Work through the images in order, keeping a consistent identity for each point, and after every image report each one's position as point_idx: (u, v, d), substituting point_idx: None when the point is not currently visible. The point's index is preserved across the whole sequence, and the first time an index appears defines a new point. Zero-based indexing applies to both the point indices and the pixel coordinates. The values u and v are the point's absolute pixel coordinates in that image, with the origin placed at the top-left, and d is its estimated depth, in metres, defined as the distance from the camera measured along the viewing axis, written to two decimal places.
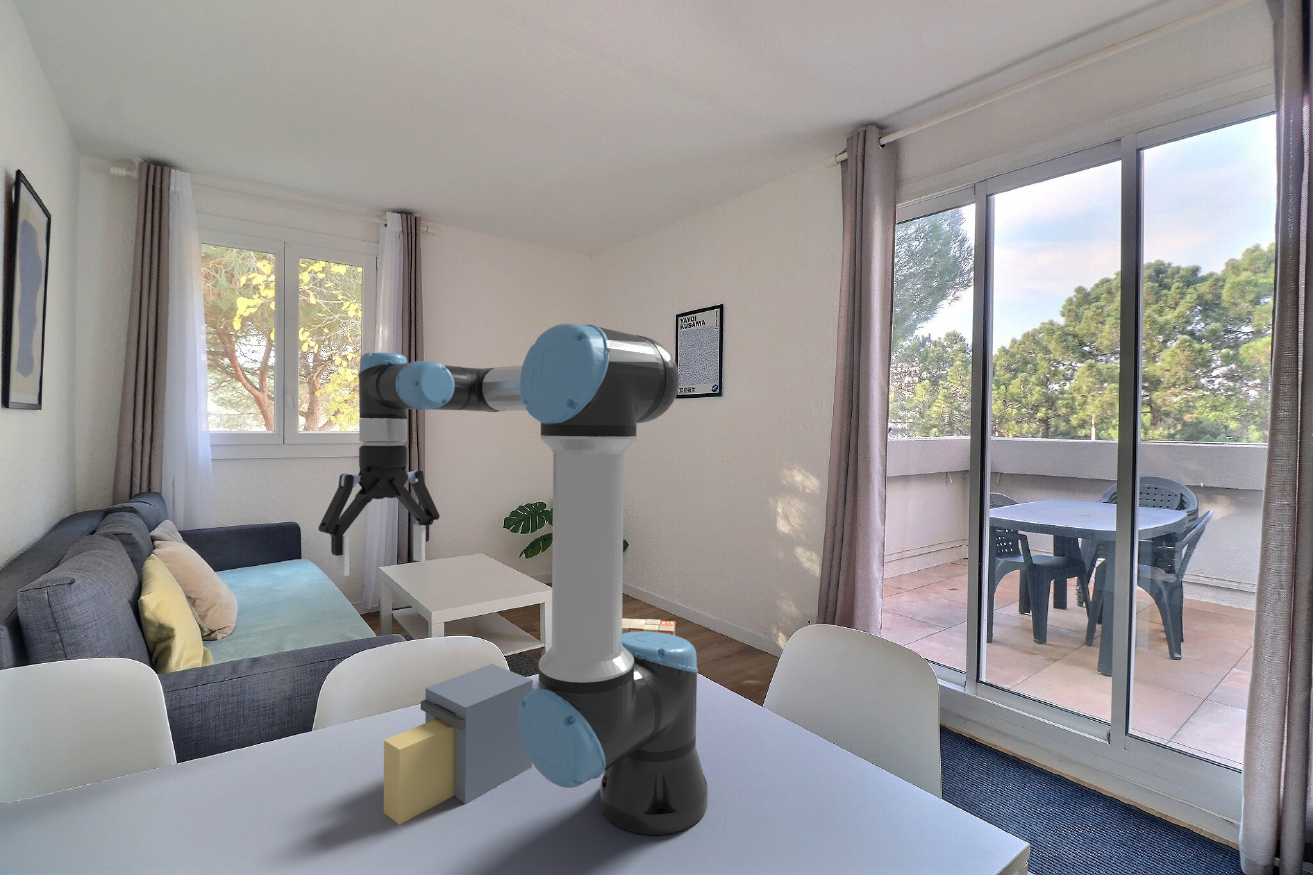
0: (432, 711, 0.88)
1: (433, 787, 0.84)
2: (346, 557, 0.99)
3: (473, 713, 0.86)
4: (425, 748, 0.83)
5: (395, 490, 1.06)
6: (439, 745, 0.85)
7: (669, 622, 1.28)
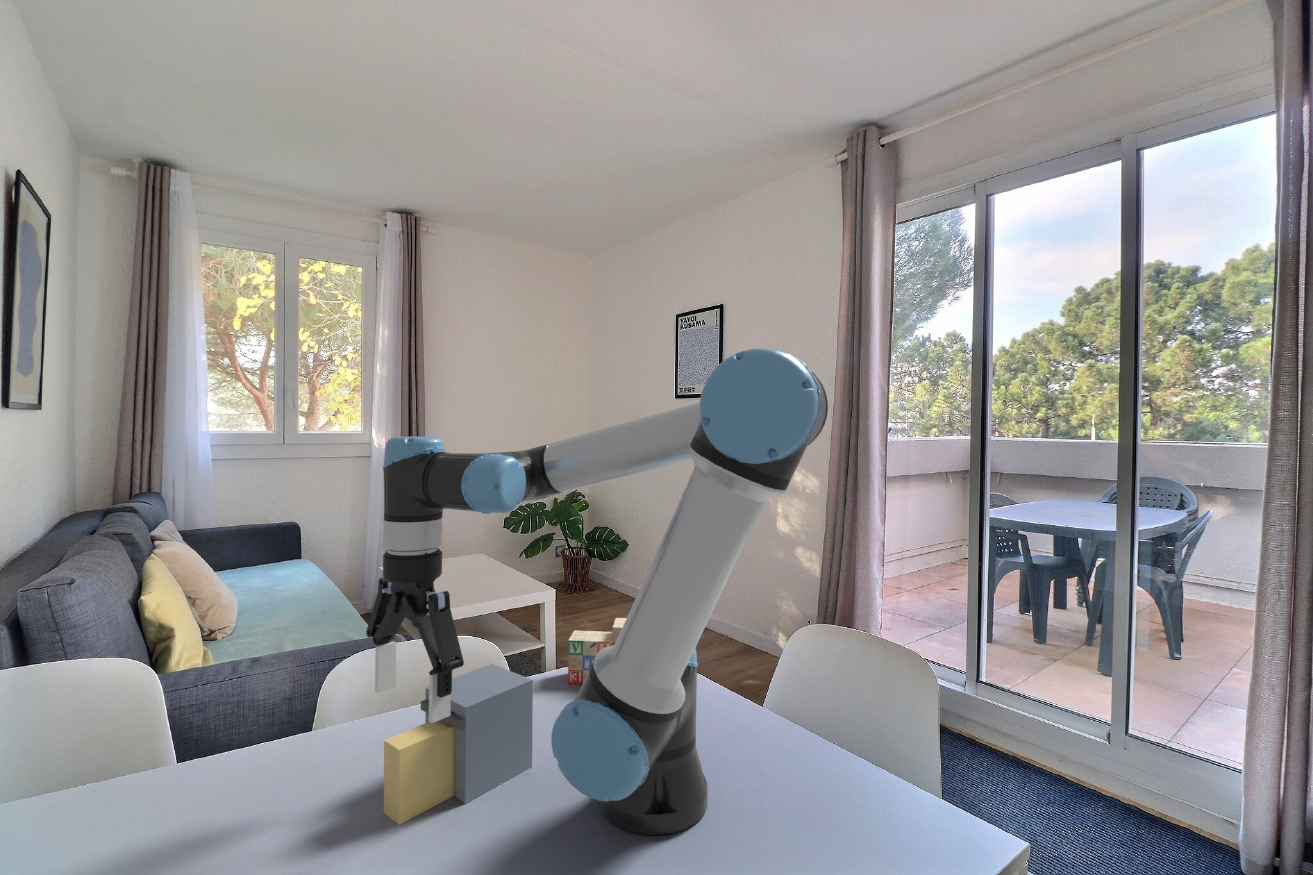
0: None
1: (433, 787, 0.84)
2: (376, 671, 0.87)
3: (473, 713, 0.86)
4: (425, 748, 0.83)
5: None
6: (439, 745, 0.85)
7: None
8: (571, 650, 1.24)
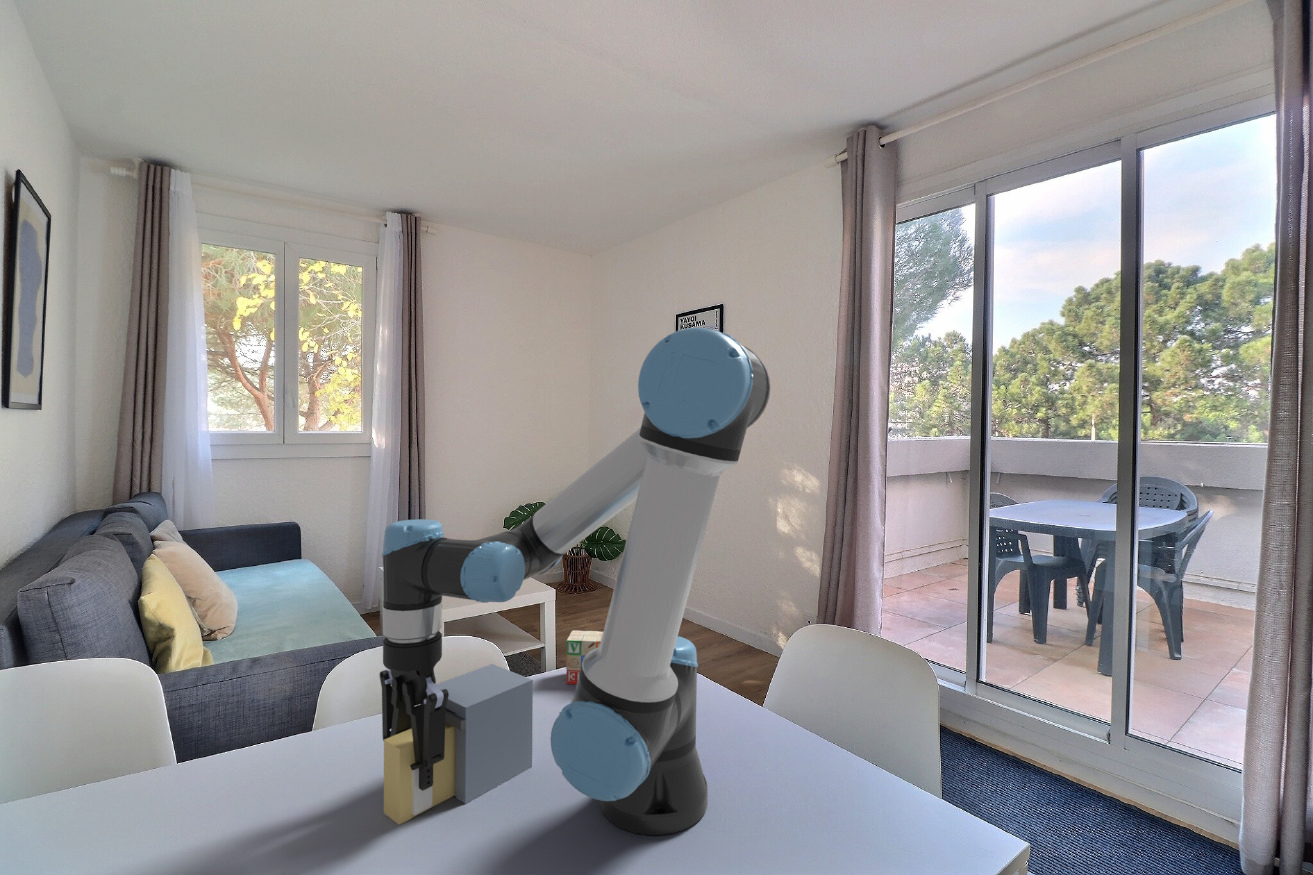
0: None
1: (433, 786, 0.84)
2: None
3: (473, 713, 0.86)
4: None
5: None
6: None
7: None
8: (569, 650, 1.24)
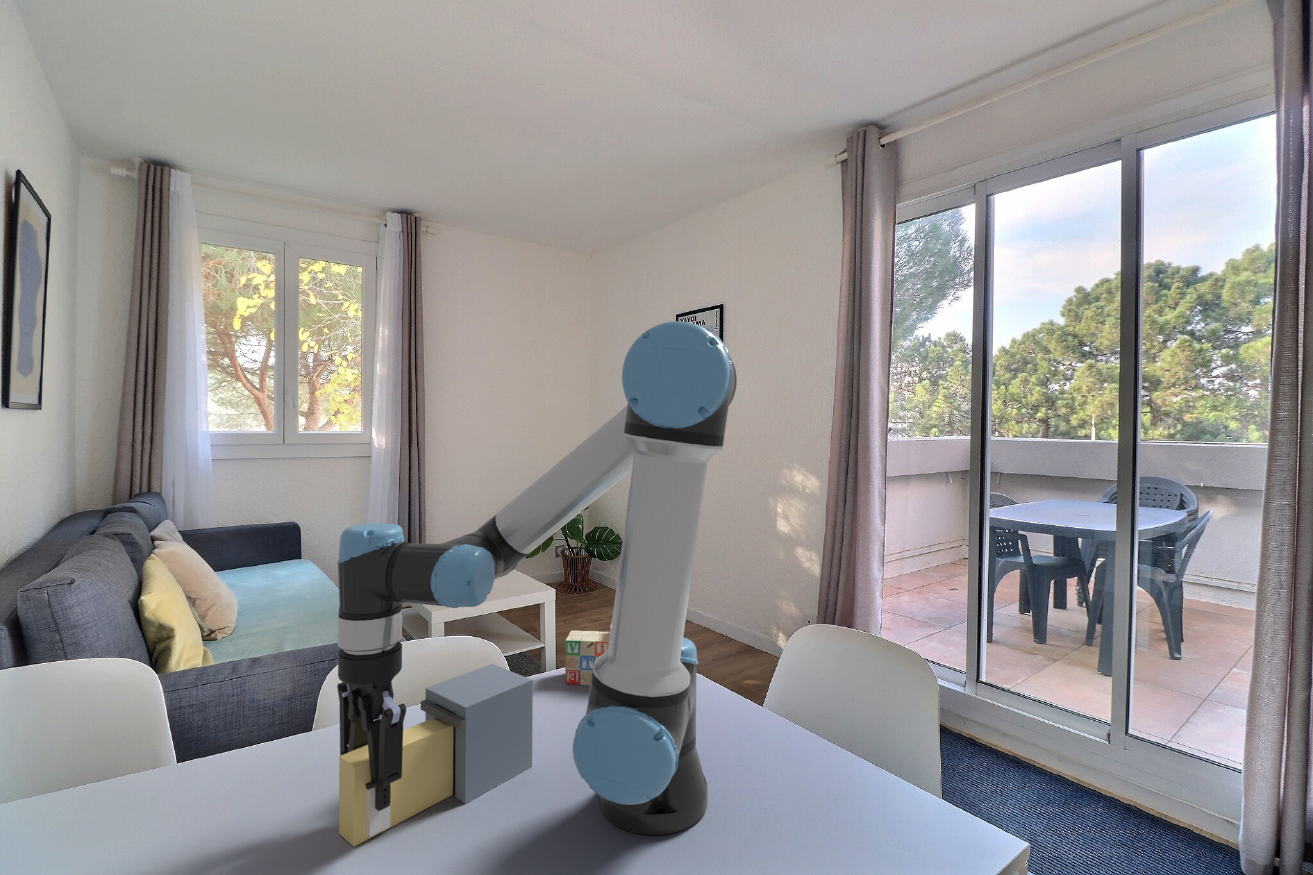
0: (432, 711, 0.88)
1: (392, 805, 0.80)
2: None
3: (473, 713, 0.86)
4: None
5: None
6: None
7: None
8: (568, 650, 1.24)
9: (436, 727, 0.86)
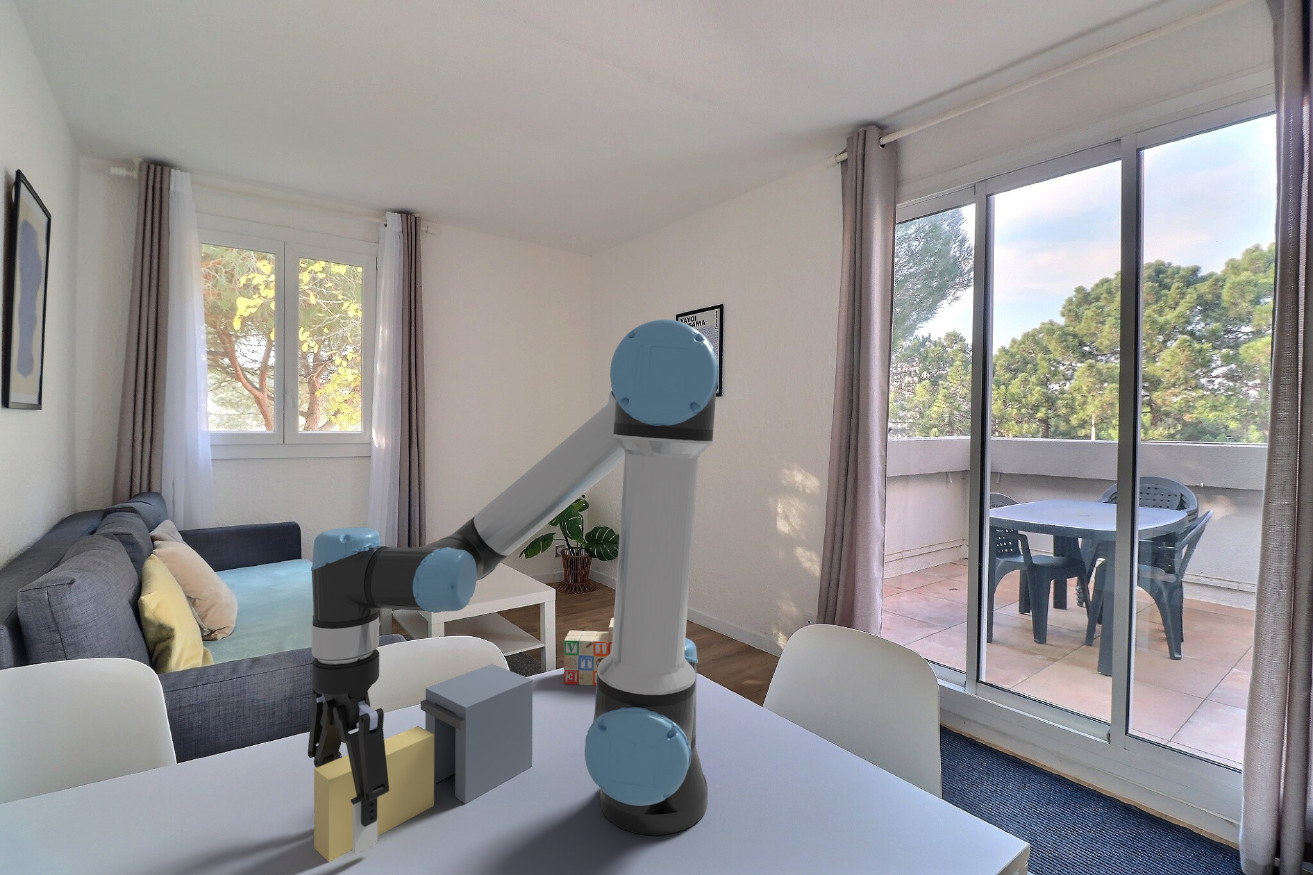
0: (432, 711, 0.88)
1: None
2: None
3: (473, 713, 0.86)
4: None
5: None
6: None
7: None
8: (567, 650, 1.24)
9: (416, 737, 0.83)
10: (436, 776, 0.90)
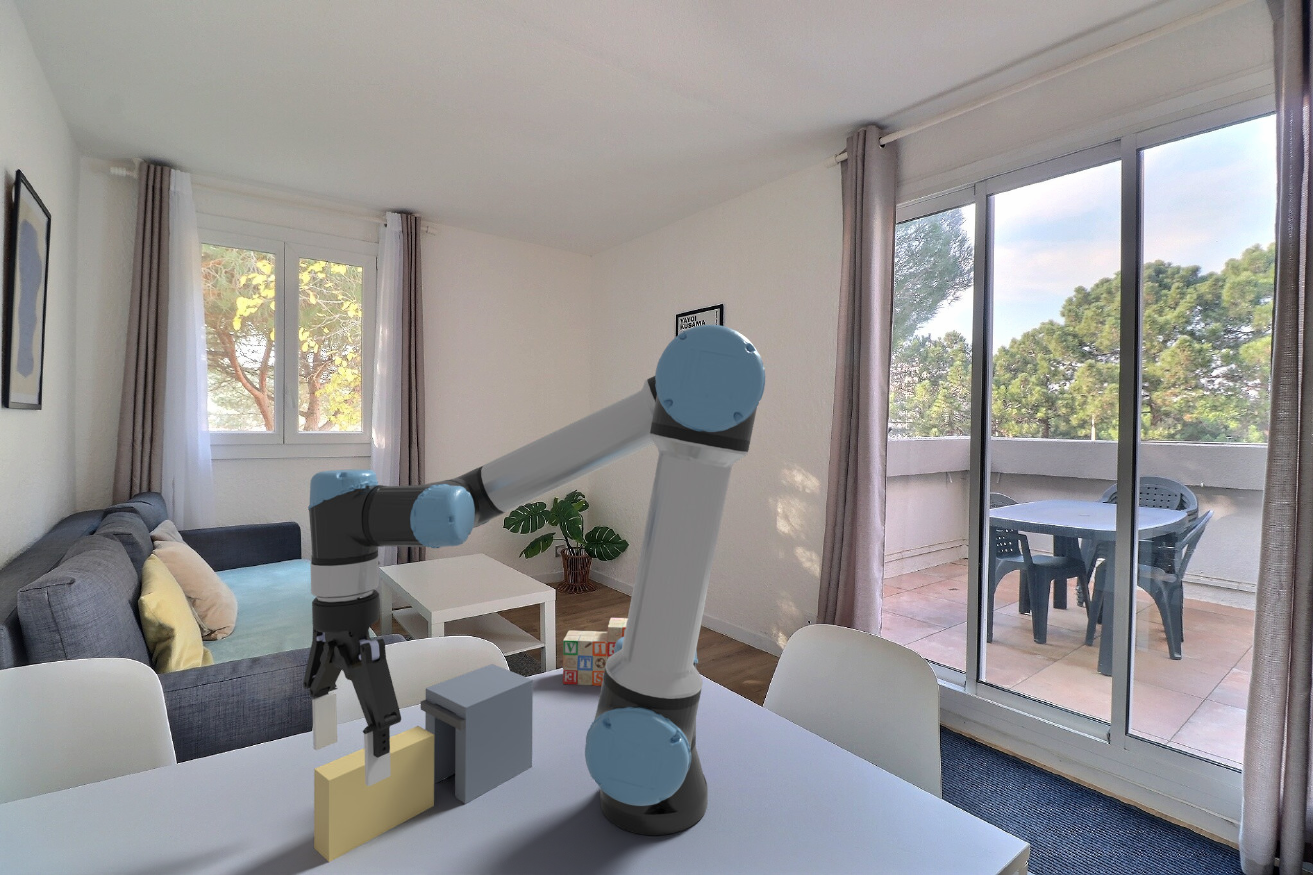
0: (432, 711, 0.88)
1: (369, 819, 0.77)
2: (314, 726, 0.80)
3: (473, 713, 0.86)
4: (359, 777, 0.76)
5: None
6: None
7: None
8: (566, 650, 1.24)
9: (416, 737, 0.83)
10: (436, 776, 0.90)
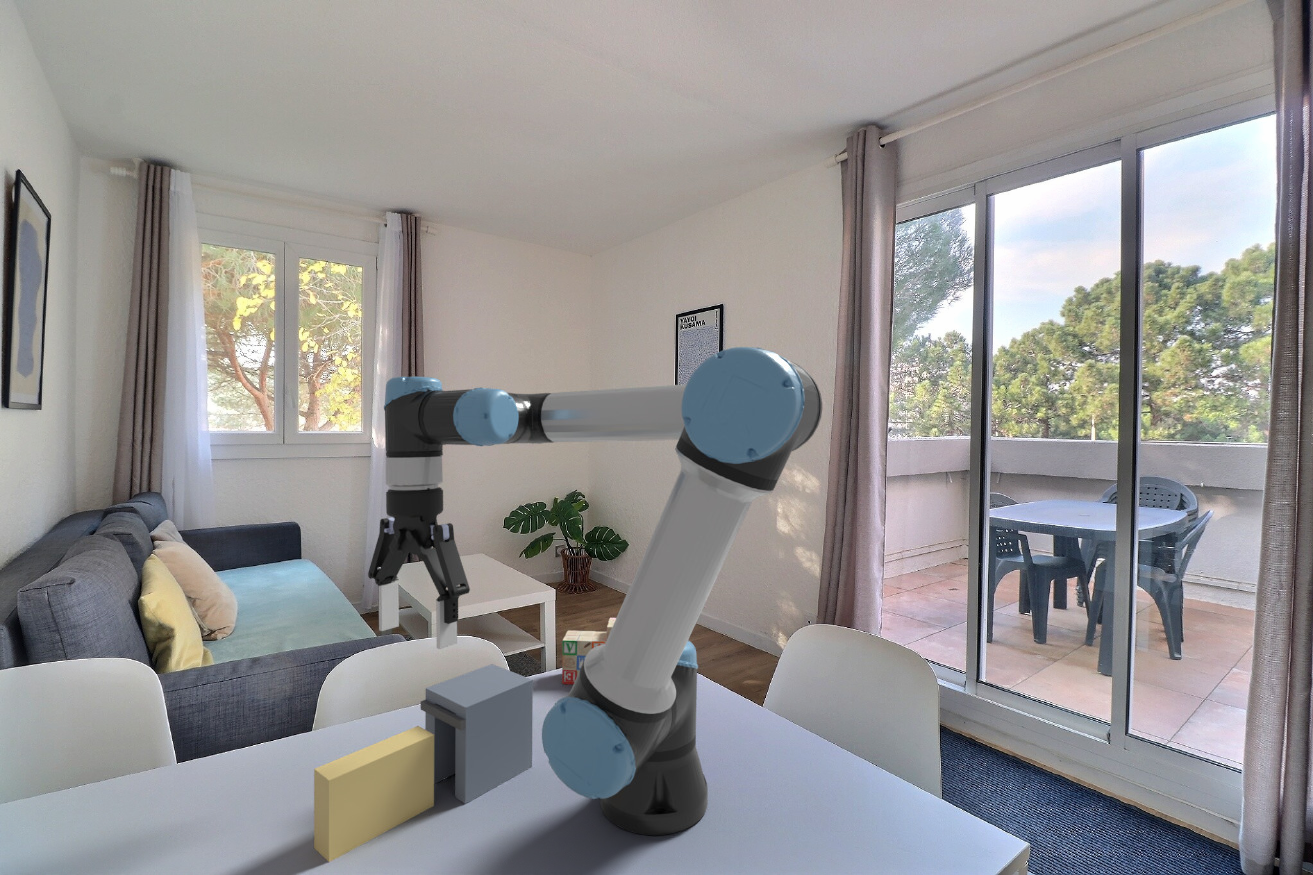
0: (432, 711, 0.88)
1: (369, 819, 0.77)
2: (380, 610, 0.89)
3: (473, 713, 0.86)
4: (359, 777, 0.76)
5: None
6: (376, 773, 0.78)
7: None
8: (565, 650, 1.24)
9: (416, 737, 0.83)
10: (436, 776, 0.90)
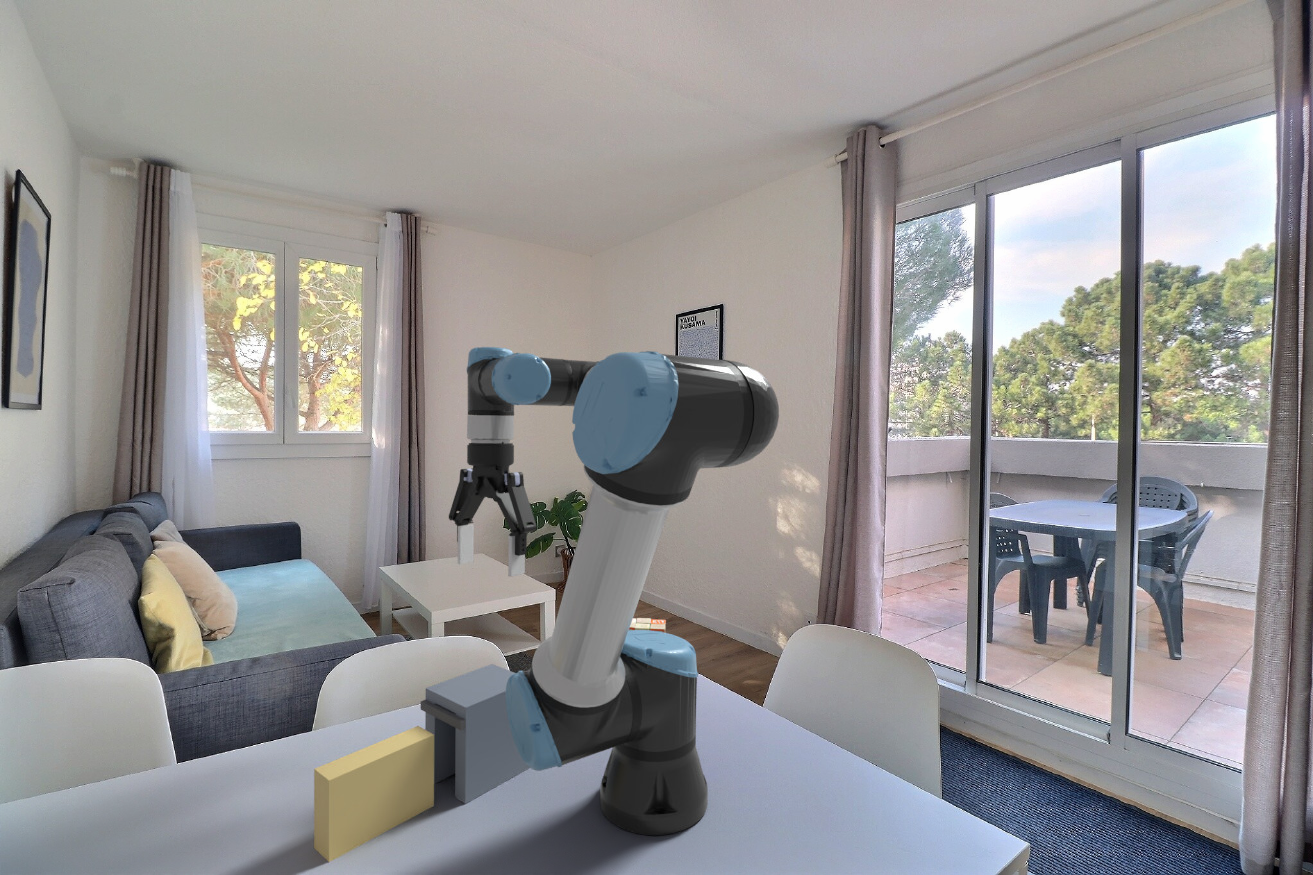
0: (432, 711, 0.88)
1: (369, 819, 0.77)
2: (458, 546, 1.05)
3: (473, 713, 0.86)
4: (359, 777, 0.76)
5: None
6: (376, 773, 0.78)
7: (660, 620, 1.29)
8: None
9: (416, 737, 0.83)
10: (436, 776, 0.90)
